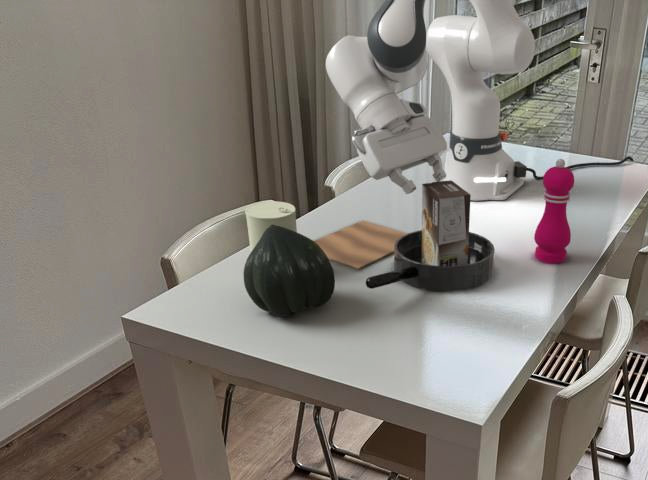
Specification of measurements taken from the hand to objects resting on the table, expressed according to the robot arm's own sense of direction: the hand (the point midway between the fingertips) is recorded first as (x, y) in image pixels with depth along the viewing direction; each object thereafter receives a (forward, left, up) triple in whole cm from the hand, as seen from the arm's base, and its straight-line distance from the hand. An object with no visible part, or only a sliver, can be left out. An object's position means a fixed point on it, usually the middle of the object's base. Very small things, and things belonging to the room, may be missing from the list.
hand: (427, 185), depth 142 cm
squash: (+29, -8, -16) cm, 34 cm away
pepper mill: (-19, +17, -16) cm, 30 cm away
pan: (0, +4, -16) cm, 16 cm away
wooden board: (0, -17, -16) cm, 23 cm away
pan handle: (+15, +4, -14) cm, 21 cm away
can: (+19, -22, -16) cm, 33 cm away
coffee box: (0, +4, -16) cm, 16 cm away
